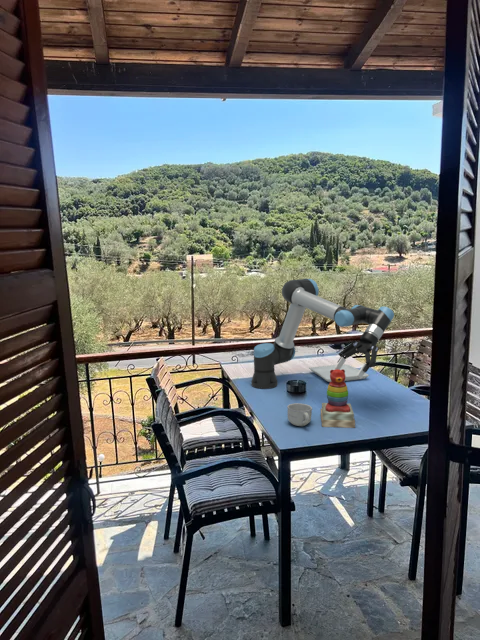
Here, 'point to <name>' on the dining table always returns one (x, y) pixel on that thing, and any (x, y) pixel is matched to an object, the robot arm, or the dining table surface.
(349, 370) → the square plate
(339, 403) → the stacking bear
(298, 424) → the teacup
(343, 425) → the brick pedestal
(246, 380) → the dining table surface
